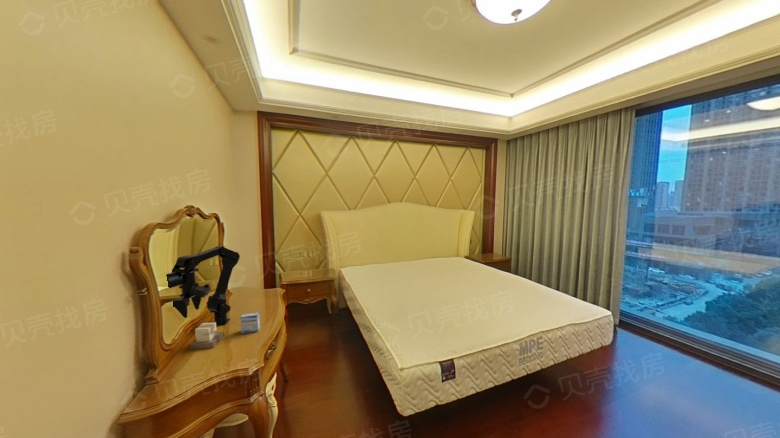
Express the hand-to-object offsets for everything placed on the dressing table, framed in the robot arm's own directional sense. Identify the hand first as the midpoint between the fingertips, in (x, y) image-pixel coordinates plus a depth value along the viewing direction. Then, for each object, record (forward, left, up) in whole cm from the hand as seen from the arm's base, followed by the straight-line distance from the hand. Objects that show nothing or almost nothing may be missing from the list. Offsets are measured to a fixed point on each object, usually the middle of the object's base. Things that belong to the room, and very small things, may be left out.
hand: (191, 313), depth 135 cm
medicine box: (-2, +26, -12) cm, 29 cm away
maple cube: (+7, +10, -10) cm, 16 cm away
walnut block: (+7, +10, -13) cm, 18 cm away
